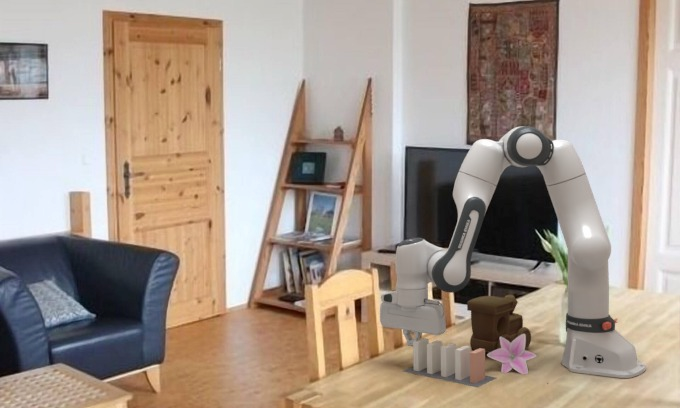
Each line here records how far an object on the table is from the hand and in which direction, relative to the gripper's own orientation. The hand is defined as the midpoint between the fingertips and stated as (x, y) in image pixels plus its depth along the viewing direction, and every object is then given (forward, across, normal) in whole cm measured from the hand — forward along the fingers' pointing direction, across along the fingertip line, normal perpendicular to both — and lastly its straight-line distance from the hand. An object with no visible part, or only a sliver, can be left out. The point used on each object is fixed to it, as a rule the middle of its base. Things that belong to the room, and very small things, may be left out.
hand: (412, 346), depth 256 cm
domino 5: (+6, -21, 0) cm, 22 cm away
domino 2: (+6, -7, 0) cm, 9 cm away
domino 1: (+6, -3, 0) cm, 7 cm away
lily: (+7, -23, -14) cm, 28 cm away
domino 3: (+6, -12, 0) cm, 13 cm away
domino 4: (+6, -16, 0) cm, 17 cm away
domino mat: (+6, -12, 0) cm, 13 cm away
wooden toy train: (+7, -11, -29) cm, 32 cm away
